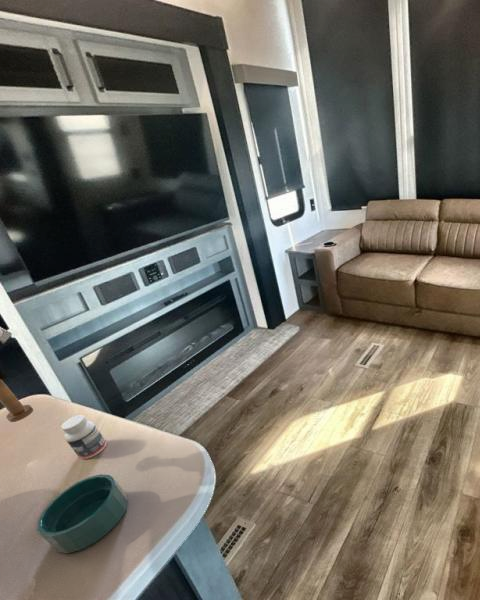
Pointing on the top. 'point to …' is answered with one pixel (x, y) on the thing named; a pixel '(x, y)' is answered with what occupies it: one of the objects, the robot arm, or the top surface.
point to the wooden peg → (13, 404)
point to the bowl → (83, 513)
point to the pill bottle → (83, 437)
